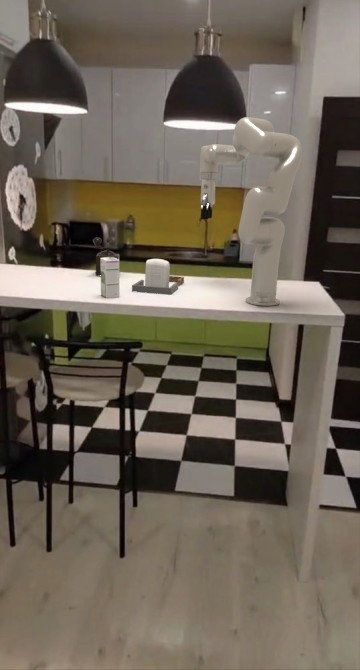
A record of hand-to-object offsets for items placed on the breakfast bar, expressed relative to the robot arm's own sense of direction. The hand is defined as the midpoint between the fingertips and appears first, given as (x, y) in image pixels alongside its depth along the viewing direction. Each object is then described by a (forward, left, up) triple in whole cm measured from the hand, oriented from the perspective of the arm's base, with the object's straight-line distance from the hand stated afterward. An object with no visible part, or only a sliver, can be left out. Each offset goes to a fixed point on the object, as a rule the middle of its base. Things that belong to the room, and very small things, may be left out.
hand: (206, 218), depth 218 cm
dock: (-6, +16, -28) cm, 33 cm away
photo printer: (-19, +16, -28) cm, 38 cm away
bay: (-22, +16, -28) cm, 39 cm away
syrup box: (-41, +29, -28) cm, 58 cm away
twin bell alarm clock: (+2, +46, -29) cm, 54 cm away
